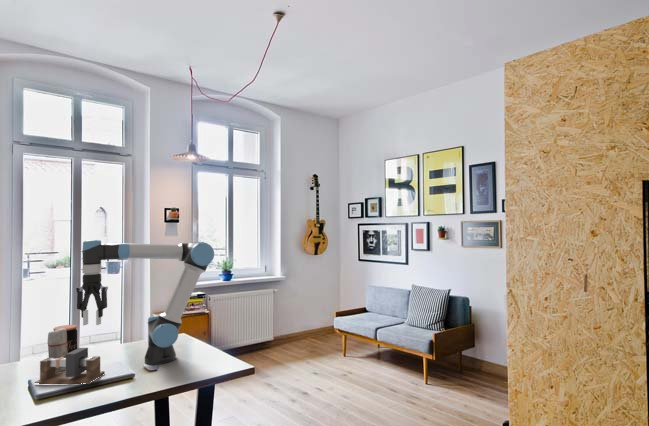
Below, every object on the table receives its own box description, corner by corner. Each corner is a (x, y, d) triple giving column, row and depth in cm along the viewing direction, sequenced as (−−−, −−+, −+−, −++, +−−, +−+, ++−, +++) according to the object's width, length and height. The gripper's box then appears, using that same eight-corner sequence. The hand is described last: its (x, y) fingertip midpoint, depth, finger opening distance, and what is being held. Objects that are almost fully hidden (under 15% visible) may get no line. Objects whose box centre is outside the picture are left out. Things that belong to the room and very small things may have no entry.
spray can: (58, 373, 199) (58, 331, 199) (43, 372, 200) (43, 330, 201) (72, 367, 207) (72, 327, 208) (58, 366, 208) (58, 326, 209)
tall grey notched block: (87, 369, 194) (87, 347, 195) (74, 376, 184) (74, 354, 185) (79, 369, 194) (79, 347, 195) (65, 377, 184) (65, 354, 185)
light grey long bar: (95, 364, 191) (95, 356, 191) (91, 366, 188) (91, 358, 188) (50, 365, 192) (50, 357, 192) (45, 367, 188) (45, 359, 188)
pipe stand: (104, 374, 196) (104, 353, 196) (88, 384, 183) (88, 362, 183) (54, 375, 196) (54, 354, 196) (34, 385, 183) (34, 363, 183)
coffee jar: (52, 366, 209) (52, 330, 210) (54, 360, 219) (54, 326, 220) (76, 362, 214) (76, 327, 215) (78, 357, 224) (77, 323, 225)
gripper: (116, 272, 195) (116, 322, 194) (77, 273, 195) (77, 323, 194) (107, 274, 187) (107, 326, 186) (67, 274, 187) (67, 326, 186)
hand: (92, 324), depth 190 cm, fingers open, 5 cm apart
